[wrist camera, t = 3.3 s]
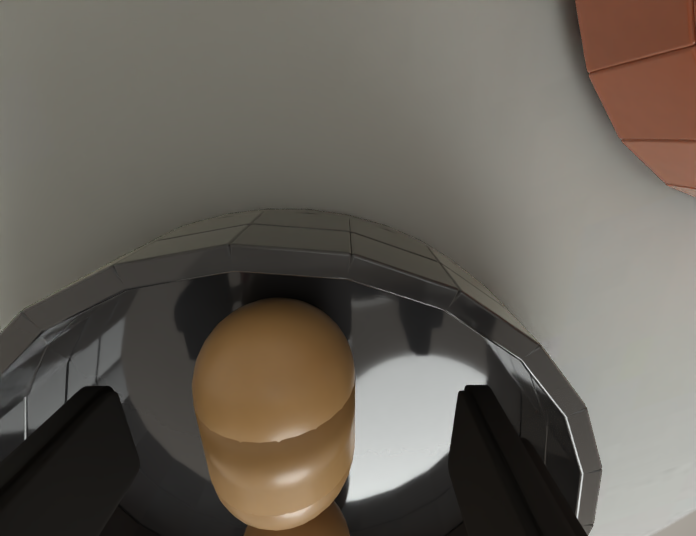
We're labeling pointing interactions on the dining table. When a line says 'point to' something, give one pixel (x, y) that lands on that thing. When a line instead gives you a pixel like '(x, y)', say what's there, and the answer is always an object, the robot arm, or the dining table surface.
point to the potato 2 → (311, 526)
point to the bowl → (646, 79)
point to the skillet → (365, 343)
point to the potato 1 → (276, 411)
